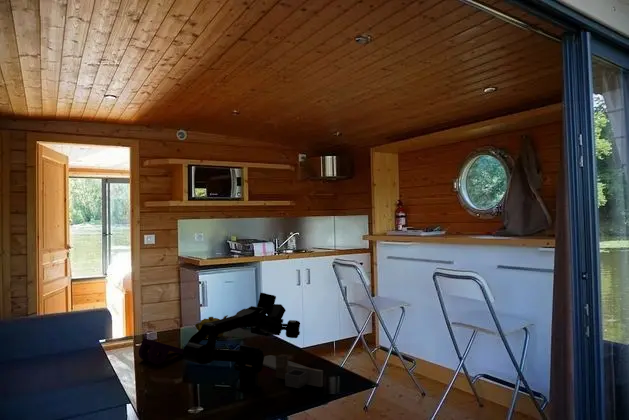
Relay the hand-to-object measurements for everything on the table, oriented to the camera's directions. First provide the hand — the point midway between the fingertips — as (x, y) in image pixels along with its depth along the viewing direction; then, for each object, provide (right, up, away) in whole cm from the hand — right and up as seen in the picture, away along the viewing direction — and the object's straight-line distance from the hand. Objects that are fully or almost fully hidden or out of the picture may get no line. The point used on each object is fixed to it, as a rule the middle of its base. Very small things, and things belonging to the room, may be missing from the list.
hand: (289, 332), depth 179 cm
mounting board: (+6, -14, -16) cm, 22 cm away
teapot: (-42, -16, +48) cm, 66 cm away
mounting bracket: (-55, -16, +16) cm, 59 cm away
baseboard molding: (-1, -15, +2) cm, 15 cm away
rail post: (-2, -14, -9) cm, 17 cm away
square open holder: (+4, -12, -20) cm, 24 cm away
